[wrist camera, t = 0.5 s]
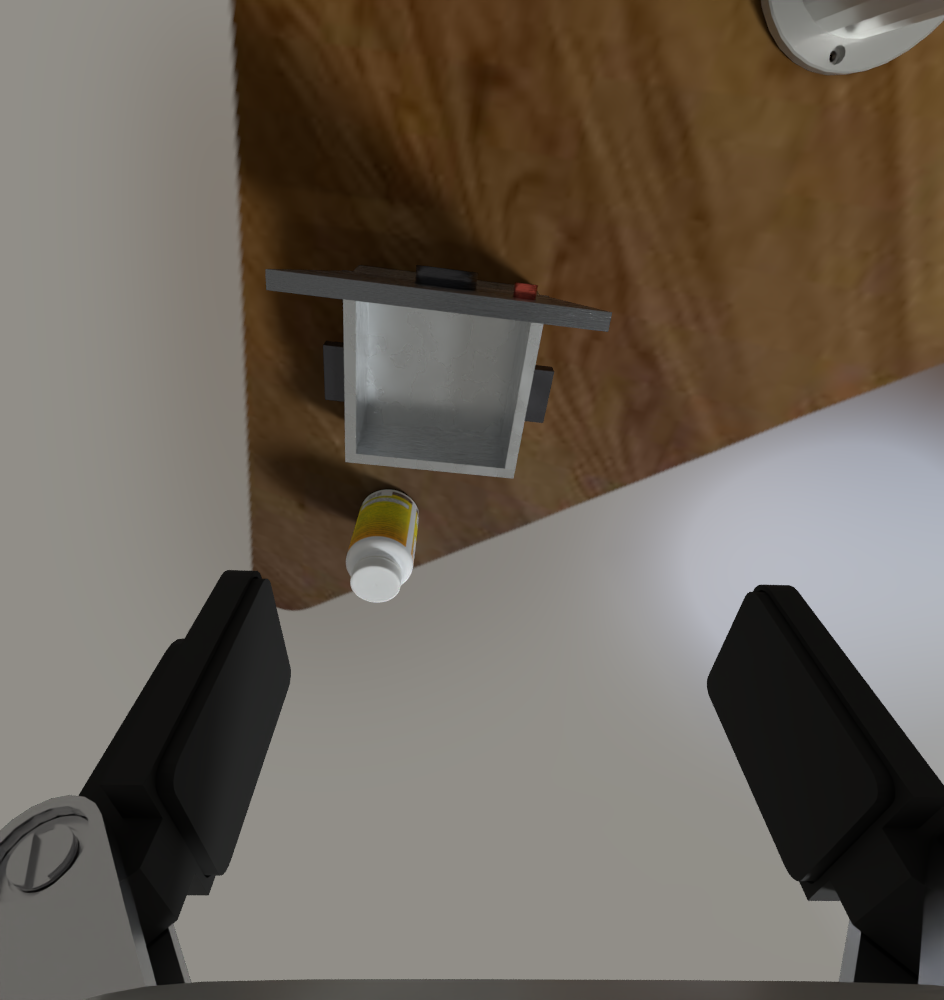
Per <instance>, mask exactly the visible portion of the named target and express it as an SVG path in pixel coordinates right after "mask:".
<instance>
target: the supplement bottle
mask: <svg viewBox="0 0 944 1000" xmlns="http://www.w3.org/2000/svg"><path fill="white" fill-rule="evenodd" d="M418 520H419V513H418V509H417V506H416V504H415V503H414V501H413V500H412V499H411V498H410V497H409V496H407V495H406V494H404V493H402V492H399V491H396V490H390V489H385V490H379V491H376V492H374V493H372V494H370V495H369V496H368V497H367V498H366V499H365V500H364V501H363V503H362V505H361V508H360V511H359V515H358V518H357V522H356V525H355V528H354V532H353V536H352V539H351V543H350V546H349V549H348V553H347V557H346V567H347V570H348V572H349V574H350V576H351V580H350V584H351V588H352V590H353V592H354V593H355V594H356V595H357V596H358V597H360V598H362V599H363V600H366V601H369V602H385V601H388V600H390V599H392V598H393V597H395V596H396V595H397V593H398V592H399V589H400V585H402V584H403V583H404V582H406V581H407V579H408V578H409V577H410V575H411V573H412V569H413V562H414V554H415V546H416V538H417V529H418Z"/></svg>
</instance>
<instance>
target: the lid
mask: <svg viewBox="0 0 944 1000" xmlns="http://www.w3.org/2000/svg"><path fill="white" fill-rule="evenodd" d="M477 277H478V273H474V272H467V271H459V270H452V269H444V268H436V267H428V266H420V265H416V279H410V278H402V277H394V276H387V275H379V274H371V273H363V272H355V271H347V270H342V271H329V270H286V269H266V290H271V291H279V292H287V293H295V294H304V295H312V296H320V297H328V298H336V299H344V300H353V301H361V302H369V303H377V304H385V305H393V306H402V307H410V308H418V309H426V310H434V311H442V312H451V313H459V314H467V315H475V316H483V317H491V318H500V319H508V320H516V321H524V322H532V323H540V324H549V325H557V326H565V327H573V328H581V329H589V330H598V331H606V332H608V330H609V325H610V320H611V316H612V312H608V311H604V310H600V309H596V308H592V307H588V306H584V305H579V304H575V303H571V302H567V301H563V300H559V299H555V298H551V297H549V296H544V295H536V294H537V287H538V285H531V284H523V283H515V286H514V292H513V291H505V290H497V289H489V288H481V287H476V286H477Z"/></svg>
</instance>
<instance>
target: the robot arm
mask: <svg viewBox="0 0 944 1000" xmlns="http://www.w3.org/2000/svg"><path fill="white" fill-rule="evenodd" d="M761 6H762V10H763V13H764V16H765V20H766V23H767V26H768V29H769V31H770V33H771V35H772V36H773V38H774V40H775V42H776V43H777V45H778V47H779V48H780V49H781V50H782V51H783V52H784V53H785V55H786V56H787V57H788V58H789V59H790V60H791V61H792V62H794V63H796V64H797V65H799V66H801V67H803V68H804V69H806V70H808V71H811V72H815V73H820V74H824V75H847V74H851V73H856V72H861V71H866V70H869V69H871V68H874V67H877V66H880V65H882V64H885V63H887V62H889V61H891V60H893V59H894V58H896V57H898V56H900V55H901V54H903V53H905V52H907V51H908V50H910V49H911V48H912V47H914V46H915V45H916V44H917V43H919V42H920V41H921V40H922V39H924V38H925V37H926V36H928V35H929V34H930V33H931V32H932V31H933V30H934V29H935V28H936V27H937V26H938V25H939V24H940V23H941V22H942V21H943V20H944V0H761ZM830 53H832V59H831V61H830V60H829V58H830ZM290 677H291V669H290V664H289V660H288V655H287V651H286V647H285V642H284V638H283V634H282V630H281V626H280V621H279V617H278V613H277V609H276V604H275V600H274V596H273V592H272V587H271V583H270V581H269V580H268V579H262V577H261V575H260V573H259V572H258V571H238V570H227V571H225V572H224V573H223V574H222V575H221V577H220V579H219V580H218V582H217V584H216V586H215V587H214V589H213V591H212V592H211V594H210V596H209V598H208V599H207V601H206V603H205V605H204V606H203V608H202V610H201V612H200V613H199V615H198V617H197V618H196V620H195V622H194V623H193V625H192V627H191V629H190V630H189V632H188V634H187V635H186V637H185V639H177V640H176V641H175V642H173V643H172V644H171V645H170V647H169V648H168V649H167V650H166V652H165V654H164V655H163V657H162V659H161V660H160V662H159V663H158V665H157V667H156V668H155V670H154V672H153V673H152V675H151V677H150V678H149V680H148V682H147V683H146V685H145V687H144V688H143V690H142V692H141V693H140V695H139V697H138V698H137V700H136V701H135V703H134V705H133V706H132V708H131V710H130V711H129V713H128V715H127V716H126V718H125V720H124V721H123V723H122V725H121V726H120V728H119V730H118V731H117V733H116V735H115V736H114V738H113V740H112V741H111V743H110V745H109V746H108V748H107V749H106V751H105V753H104V754H103V756H102V758H101V759H100V761H99V763H98V764H97V766H96V768H95V769H94V771H93V773H92V774H91V776H90V777H89V779H88V781H87V783H86V784H85V786H84V787H83V789H82V791H81V792H80V794H79V796H72V795H68V796H62V797H57V798H52V799H49V800H47V801H45V802H42V803H40V804H37V805H35V806H33V807H31V808H29V809H28V810H26V811H25V812H23V813H22V814H20V815H19V816H17V817H16V818H14V819H13V820H11V821H10V822H9V823H8V824H7V825H6V826H5V827H4V828H3V829H2V830H0V1000H944V785H943V784H942V783H941V781H940V780H939V778H938V777H937V776H936V774H935V773H934V772H933V770H932V769H931V768H930V766H929V765H928V764H927V762H926V761H925V760H924V758H923V757H922V756H921V754H920V753H919V752H918V751H917V749H916V748H915V746H914V745H913V744H912V742H911V741H910V740H909V739H908V737H907V736H906V734H905V733H904V732H903V730H902V729H901V728H900V726H899V725H898V724H897V723H896V721H895V720H894V718H893V717H892V716H891V714H890V713H889V712H888V711H887V709H886V708H885V706H884V705H883V704H882V703H881V701H880V700H879V698H878V697H877V696H876V695H875V693H874V692H873V690H872V689H871V688H870V686H869V685H868V684H867V683H866V681H865V680H864V679H863V677H862V676H861V675H860V673H859V672H858V671H857V670H856V668H855V667H854V665H853V664H852V663H851V661H850V660H849V659H848V657H847V656H846V655H845V653H844V652H843V651H842V649H841V648H840V647H839V645H838V644H837V643H836V641H835V640H834V639H833V637H832V636H831V635H830V634H829V632H828V631H827V629H826V628H825V627H824V625H823V624H822V623H821V621H820V620H819V619H818V618H817V616H816V615H815V613H814V612H813V611H812V609H811V608H810V607H809V606H808V604H807V603H806V601H805V600H804V599H803V597H802V596H801V595H800V594H799V592H798V591H797V590H796V589H795V588H794V587H792V586H789V585H758V586H757V587H756V588H755V589H754V591H753V592H749V593H747V595H746V596H745V598H744V601H743V602H742V605H741V607H740V609H739V611H738V613H737V615H736V617H735V620H734V622H733V624H732V626H731V628H730V631H729V633H728V635H727V637H726V639H725V641H724V643H723V646H722V648H721V650H720V652H719V654H718V657H717V658H716V661H715V663H714V665H713V667H712V670H711V671H710V674H709V676H708V679H707V689H708V694H709V696H710V699H711V701H712V703H713V706H714V708H715V710H716V712H717V715H718V717H719V719H720V721H721V723H722V726H723V728H724V730H725V733H726V735H727V737H728V739H729V742H730V744H731V746H732V748H733V751H734V753H735V755H736V757H737V760H738V762H739V764H740V766H741V769H742V771H743V773H744V775H745V777H746V780H747V782H748V784H749V787H750V789H751V791H752V793H753V796H754V798H755V800H756V802H757V805H758V807H759V809H760V811H761V814H762V816H763V818H764V820H765V822H766V825H767V827H768V829H769V832H770V834H771V836H772V838H773V841H774V843H775V845H776V847H777V849H778V852H779V854H780V856H781V859H782V861H783V863H784V865H785V867H786V869H787V871H788V873H789V874H790V875H791V877H792V878H793V879H795V880H796V881H799V882H800V884H801V886H802V888H803V891H804V893H805V895H806V897H807V900H808V901H841V903H842V905H843V906H844V909H845V911H846V913H847V915H848V917H849V919H850V920H849V926H848V931H847V937H846V943H845V949H844V954H843V961H842V966H841V972H840V978H839V982H809V981H808V982H807V981H801V982H799V981H702V980H701V981H700V980H502V979H500V980H498V979H497V980H494V979H491V980H490V979H481V980H479V979H473V980H472V979H456V980H455V979H445V980H444V979H442V980H441V979H428V980H427V979H422V980H421V979H411V980H409V979H401V980H400V979H397V980H394V979H393V980H392V979H391V980H390V979H382V980H381V979H379V980H378V979H376V980H375V979H374V980H373V979H371V980H370V979H367V980H365V979H364V980H362V979H361V980H359V979H357V980H356V979H352V980H351V979H350V980H349V979H348V980H265V981H218V982H195V983H191V979H190V976H189V973H188V970H187V967H186V963H185V960H184V957H183V954H182V951H181V947H180V944H179V941H178V937H177V934H176V931H175V928H174V925H173V923H174V922H175V921H177V920H178V917H179V914H180V911H181V909H182V906H183V904H184V901H185V898H186V896H187V895H209V893H210V890H211V887H212V884H213V881H214V878H215V876H216V875H223V874H224V873H225V872H226V870H227V868H228V866H229V863H230V861H231V858H232V855H233V852H234V849H235V846H236V843H237V840H238V837H239V834H240V831H241V828H242V825H243V822H244V819H245V816H246V813H247V810H248V807H249V804H250V801H251V798H252V795H253V792H254V789H255V786H256V783H257V780H258V777H259V774H260V771H261V768H262V765H263V762H264V759H265V756H266V753H267V750H268V747H269V744H270V742H271V738H272V736H273V732H274V730H275V726H276V724H277V721H278V718H279V715H280V712H281V709H282V706H283V703H284V700H285V697H286V694H287V691H288V687H289V684H290Z"/></svg>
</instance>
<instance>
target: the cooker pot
mask: <svg viewBox="0 0 944 1000" xmlns="http://www.w3.org/2000/svg"><path fill="white" fill-rule="evenodd" d="M354 271H355V272H363V273H371V274H379V275H387V276H394V277H402V278H410V279H416V272H410V271H402V270H394V269H386V268H378V267H371V266H363V265H359V266H358V267H357V268H356V269H355V270H354ZM514 286H515V285H511V284H504V283H496V282H488V281H480V280H477V286H476V287H481V288H489V289H497V290H505V291H513V292H514ZM536 295H540V294H539V293H538V291H537V294H536ZM343 326H344V343H341V342H332V341H326V342H325V343H324V345H323V355H324V382H325V400H334V401H344V402H345V462H351V463H361V464H372V465H382V466H392V467H402V468H412V469H422V470H433V471H443V472H453V473H463V474H473V475H484V476H494V477H504V478H514V472H515V467H516V462H517V457H518V452H519V447H520V441H521V436H522V431H523V426H524V421H530V422H540V423H543V421H544V416H545V411H546V407H547V402H548V398H549V393H550V388H551V384H552V379H553V374H554V370H553V368H552V367H548V366H539V365H535V364H536V359H537V354H538V349H539V343H540V338H541V333H542V328H543V324H540V323H532V322H524V321H516V320H508V319H500V318H491V317H483V316H475V315H467V314H459V313H451V312H442V311H434V310H426V309H418V308H410V307H402V306H393V305H385V304H377V303H369V302H361V301H353V300H344V299H343Z"/></svg>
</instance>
